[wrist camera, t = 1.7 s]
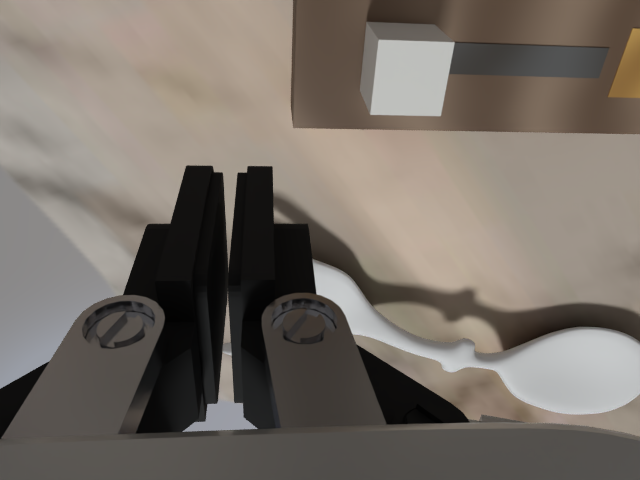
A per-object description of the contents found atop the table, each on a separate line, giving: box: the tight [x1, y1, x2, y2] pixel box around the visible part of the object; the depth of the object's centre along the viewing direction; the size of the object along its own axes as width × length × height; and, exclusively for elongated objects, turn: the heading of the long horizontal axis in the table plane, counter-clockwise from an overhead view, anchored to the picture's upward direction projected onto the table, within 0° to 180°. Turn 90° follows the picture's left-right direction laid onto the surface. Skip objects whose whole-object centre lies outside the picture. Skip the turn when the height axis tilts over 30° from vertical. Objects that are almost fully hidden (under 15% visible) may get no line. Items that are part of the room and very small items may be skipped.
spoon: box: [222, 259, 640, 414], centre depth 37 cm, size 9×32×4 cm, turn 68°
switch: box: [360, 22, 455, 116], centre depth 23 cm, size 3×3×3 cm
